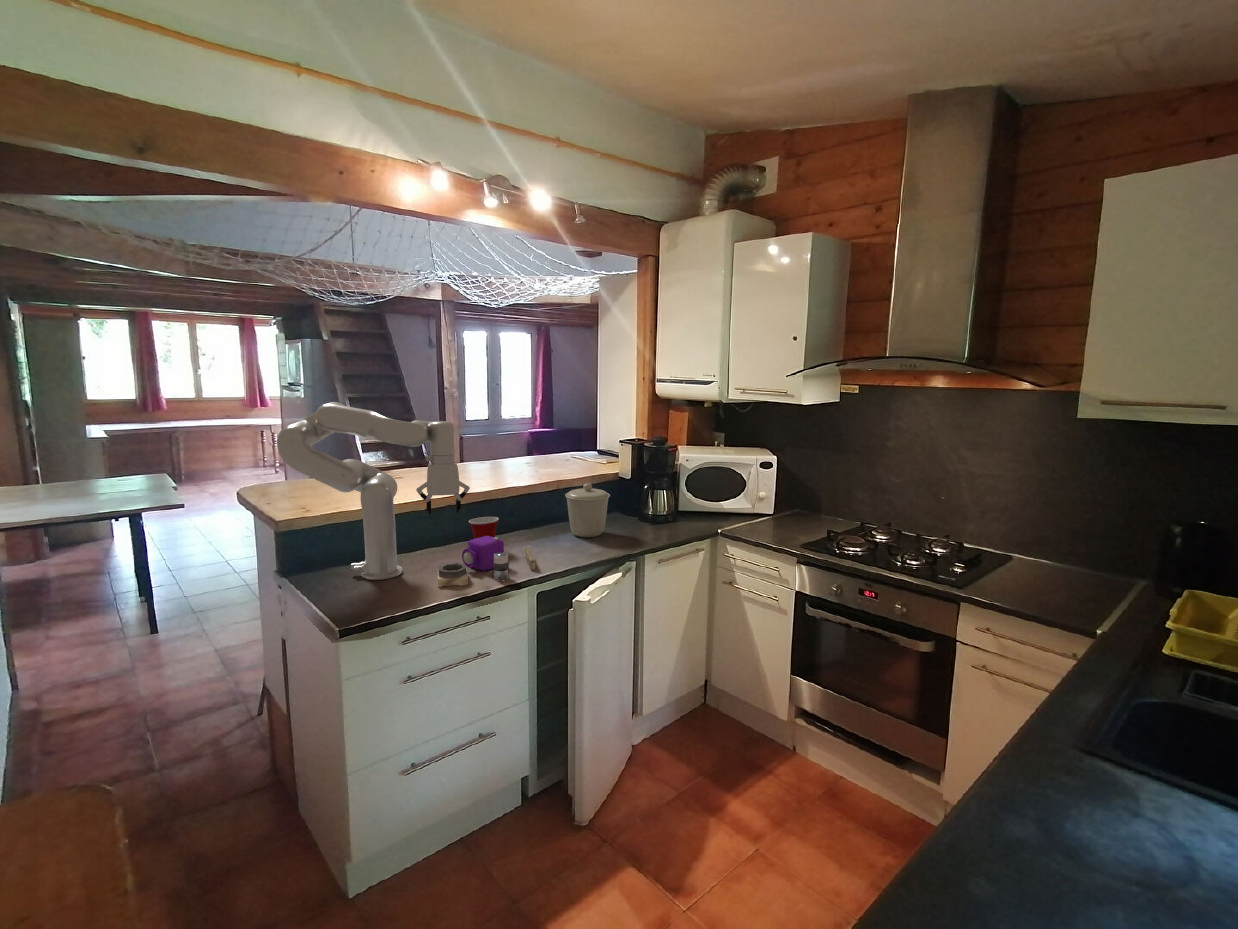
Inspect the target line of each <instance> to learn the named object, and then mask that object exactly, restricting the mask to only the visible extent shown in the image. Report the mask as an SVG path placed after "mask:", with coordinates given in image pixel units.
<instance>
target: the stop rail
mask: <svg viewBox="0 0 1238 929" xmlns="http://www.w3.org/2000/svg"><path fill="white" fill-rule="evenodd" d="M525 558H526V559H525ZM524 559H525V561H526V563H527V566H528V565H529V566H528V568H529V569H530V571H535V570H536V559H535V557H534V555H533V553H532V550H531V549H530V548H529V547H526V548H524Z"/></svg>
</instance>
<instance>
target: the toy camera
mask: <svg viewBox="0 0 1238 929" xmlns="http://www.w3.org/2000/svg"><path fill="white" fill-rule="evenodd" d="M504 545H505V544H504V540H503V539H500V538H499V537H497V536H495V537H490V536H484V537H480V538H476V539H474V538H473V539H470V540H468V541H467V547H466V548H464V549H463V550H462V552H461V560H462V562H463V564H465V565H466V568H467V569H468V568H472V569H473V568H474V569H477V570H479V571H482V572H483V571H484V572H486V571H489V570H492V569H493V562H494V554H496V553H505V546H504ZM493 570H494V569H493Z"/></svg>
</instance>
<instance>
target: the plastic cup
mask: <svg viewBox="0 0 1238 929" xmlns="http://www.w3.org/2000/svg"><path fill="white" fill-rule="evenodd" d="M499 520H500V519H499V517H497V516H482V517H476V518H472V519H469V520H468V523H469V524H470V527H471V530H472V534H473V539H476V538H480V537H484V536H490V537H496V534H497V526H498V522H499Z"/></svg>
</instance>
